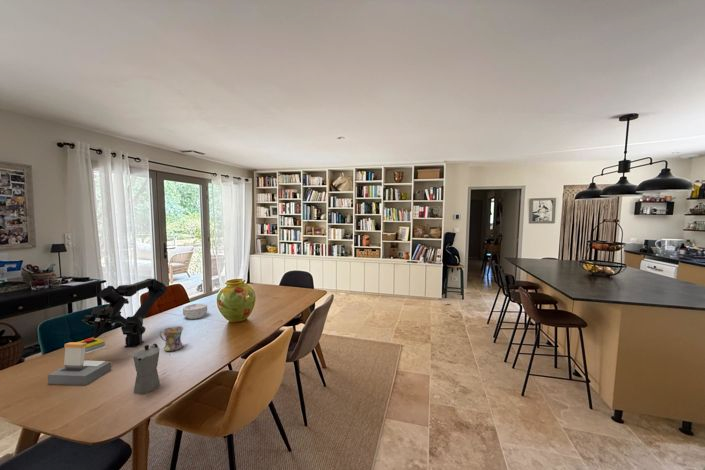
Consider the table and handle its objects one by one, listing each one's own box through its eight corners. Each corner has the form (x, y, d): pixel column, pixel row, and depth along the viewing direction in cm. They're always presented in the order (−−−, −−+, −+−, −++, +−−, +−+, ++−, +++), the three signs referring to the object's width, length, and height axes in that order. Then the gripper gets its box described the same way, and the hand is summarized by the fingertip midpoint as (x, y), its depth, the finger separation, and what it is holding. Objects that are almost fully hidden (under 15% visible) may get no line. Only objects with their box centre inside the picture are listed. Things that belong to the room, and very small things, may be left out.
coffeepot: (152, 395, 111) (152, 351, 110) (124, 398, 109) (124, 353, 108) (168, 374, 126) (168, 335, 125) (144, 377, 124) (144, 337, 123)
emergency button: (93, 334, 158) (107, 339, 151) (94, 341, 158) (107, 347, 152) (71, 340, 149) (85, 346, 143) (72, 348, 150) (85, 354, 143)
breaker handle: (68, 366, 123) (70, 342, 123) (84, 366, 123) (86, 342, 123) (62, 368, 120) (64, 344, 121) (79, 369, 120) (81, 344, 121)
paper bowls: (193, 312, 209) (193, 302, 208) (211, 314, 207) (211, 303, 206) (177, 319, 194) (177, 308, 193) (197, 321, 192) (197, 310, 191)
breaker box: (76, 368, 129) (76, 359, 129) (110, 370, 129) (110, 360, 128) (47, 383, 117) (47, 373, 117) (85, 385, 117) (85, 375, 116)
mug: (187, 345, 156) (187, 326, 155) (176, 352, 146) (176, 333, 146) (165, 344, 156) (165, 325, 155) (153, 352, 147) (153, 332, 146)
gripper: (85, 299, 135) (61, 330, 125) (123, 300, 135) (102, 331, 125) (100, 310, 144) (79, 340, 133) (136, 311, 143) (118, 341, 133)
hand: (94, 338), depth 131 cm, fingers closed
